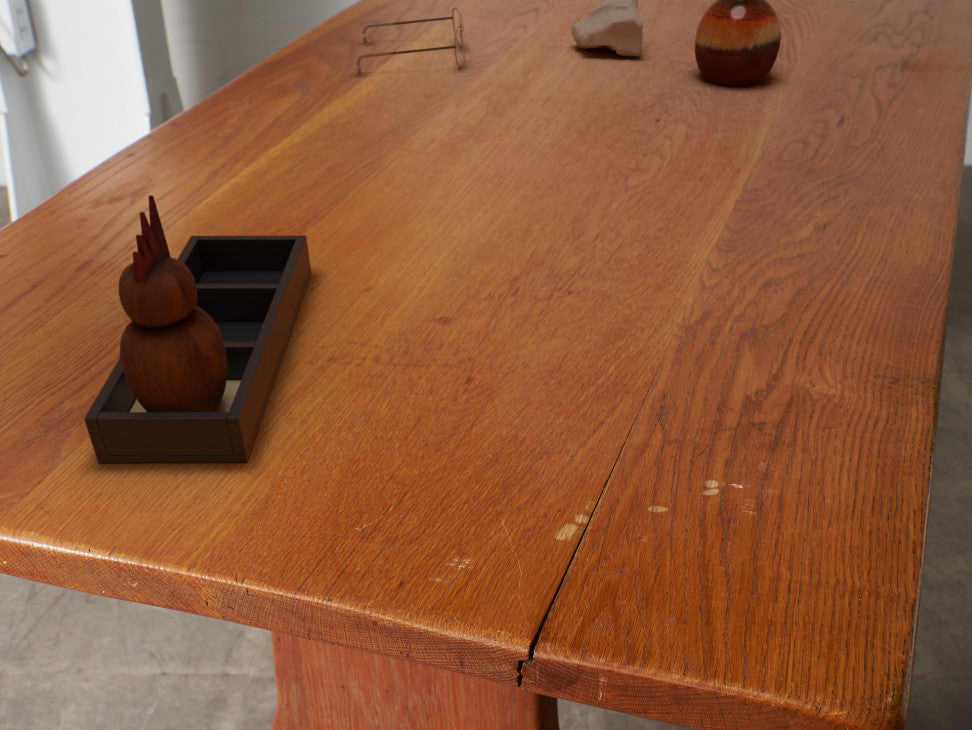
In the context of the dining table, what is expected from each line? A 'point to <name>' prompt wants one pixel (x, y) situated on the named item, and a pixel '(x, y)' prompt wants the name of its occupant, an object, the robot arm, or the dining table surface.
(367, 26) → the eyeglasses
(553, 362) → the dining table surface
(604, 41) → the decorative stone
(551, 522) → the dining table surface
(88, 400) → the dining table surface
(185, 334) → the wooden figurine
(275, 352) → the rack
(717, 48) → the vase
